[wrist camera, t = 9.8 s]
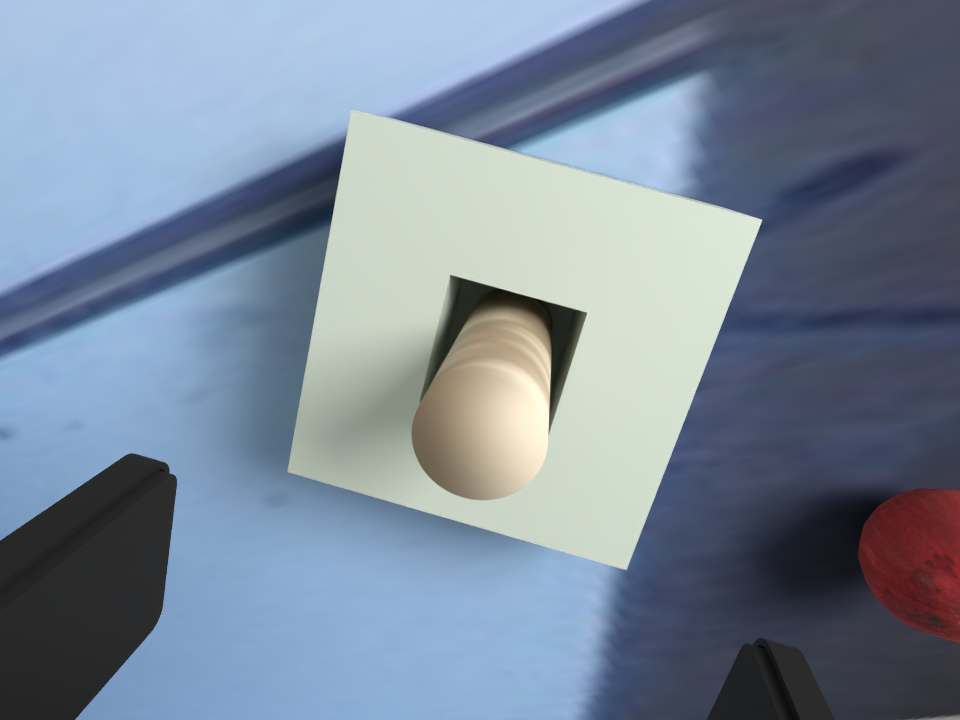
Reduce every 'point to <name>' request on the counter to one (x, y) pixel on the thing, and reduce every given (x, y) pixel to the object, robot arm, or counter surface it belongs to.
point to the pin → (489, 401)
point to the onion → (916, 559)
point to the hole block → (524, 270)
